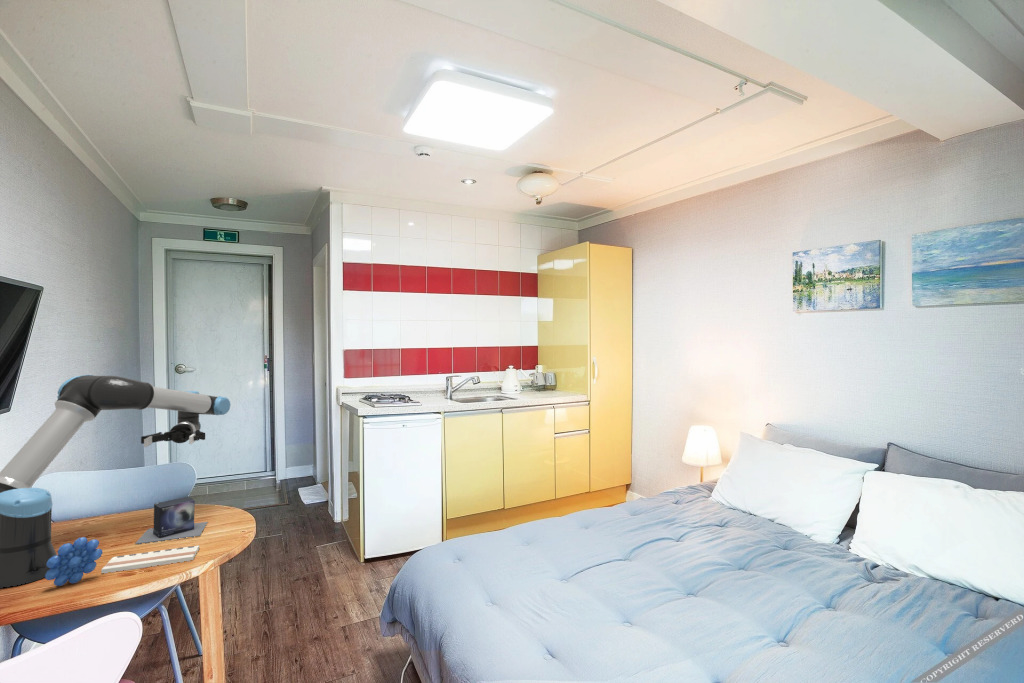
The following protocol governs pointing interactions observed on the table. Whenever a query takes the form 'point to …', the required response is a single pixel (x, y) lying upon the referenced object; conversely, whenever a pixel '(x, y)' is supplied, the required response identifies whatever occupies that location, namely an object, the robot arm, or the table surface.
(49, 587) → the table surface
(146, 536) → the mat
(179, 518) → the small box
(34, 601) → the table surface
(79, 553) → the blue bumpy cluster
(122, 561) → the board
